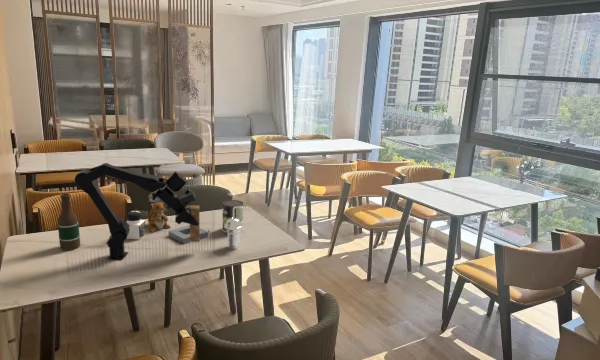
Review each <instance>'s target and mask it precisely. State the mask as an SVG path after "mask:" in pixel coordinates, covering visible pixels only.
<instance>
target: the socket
mask: <svg viewBox="0 0 600 360" xmlns="http://www.w3.org/2000/svg"><path fill="white" fill-rule="evenodd" d="M208 234H209V232H208V231H206V230H204V229H203V228H201V227H200V240H202V239H204V238H205V239H206V238H208V236H209V235H208ZM168 237H170V238H172V239H174V240H176V241H177V242H179V243H182V244H183V245H185V244H188V243H191V242H190V224H188V225H185V226H181V227H177V228H174V229H170V230H168Z"/></svg>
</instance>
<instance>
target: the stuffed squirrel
mask: <svg viewBox="0 0 600 360" xmlns="http://www.w3.org/2000/svg"><path fill="white" fill-rule="evenodd" d="M150 205H151V207H152V208H151V209H150V212H149V215H148V217H147V222H148V224H147V225H148V229H149V231H150V232H151V233H154V232H156V231H157V230H162V229H171V225H170V224H168V220H169V217H168V216H167V215H166V214H165V213H164V212H167V211H168V208H167V209H166V208H165V207H164V205H165V203H163V202H162V201H159V202H155V203H151V204H150Z"/></svg>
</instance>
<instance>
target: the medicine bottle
mask: <svg viewBox="0 0 600 360" xmlns="http://www.w3.org/2000/svg"><path fill="white" fill-rule="evenodd" d="M126 217H127V220H126V222H127V223H128V224H129V225H130V226H129V229H130V231H129V234H128V236H127V238H126V240H138V241H139V240H141V239H142V238H143V237H145V235H146V220H145V219H142V212H141V211H138V210H132V211H128V212H127V214H126Z"/></svg>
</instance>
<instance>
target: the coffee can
mask: <svg viewBox="0 0 600 360" xmlns="http://www.w3.org/2000/svg"><path fill="white" fill-rule="evenodd" d="M244 204H245V203H244V202H243V201H242V200H239V199H229V200H224V201H223V202H222V203H221V205H222V232H223V233H226V234H227V232H226V229H225V228H224V225H225V224H226V222H227V221H228V219H230V218H233V207H236V206H245V205H244ZM234 217H235V218H238V219H239V220H240V221H241V223H242V224H244V207H242V208H235V209H234ZM243 231H244V227H243V228H242V229H241V233H242V232H243Z"/></svg>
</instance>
